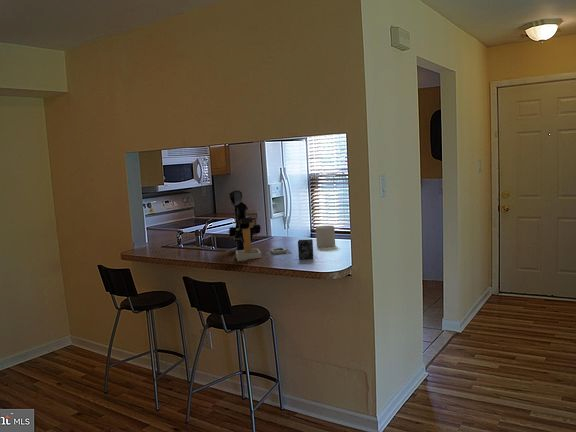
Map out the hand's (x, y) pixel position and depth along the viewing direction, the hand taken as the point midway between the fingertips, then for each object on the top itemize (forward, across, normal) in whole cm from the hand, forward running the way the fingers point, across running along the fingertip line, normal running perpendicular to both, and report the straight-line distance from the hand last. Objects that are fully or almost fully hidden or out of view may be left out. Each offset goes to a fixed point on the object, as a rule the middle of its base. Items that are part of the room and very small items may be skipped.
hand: (247, 241), depth 299 cm
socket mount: (+6, +19, +8) cm, 21 cm away
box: (+21, +29, -6) cm, 37 cm away
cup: (+1, +52, +14) cm, 54 cm away
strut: (+4, 0, +6) cm, 7 cm away
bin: (+6, 0, +8) cm, 10 cm away
